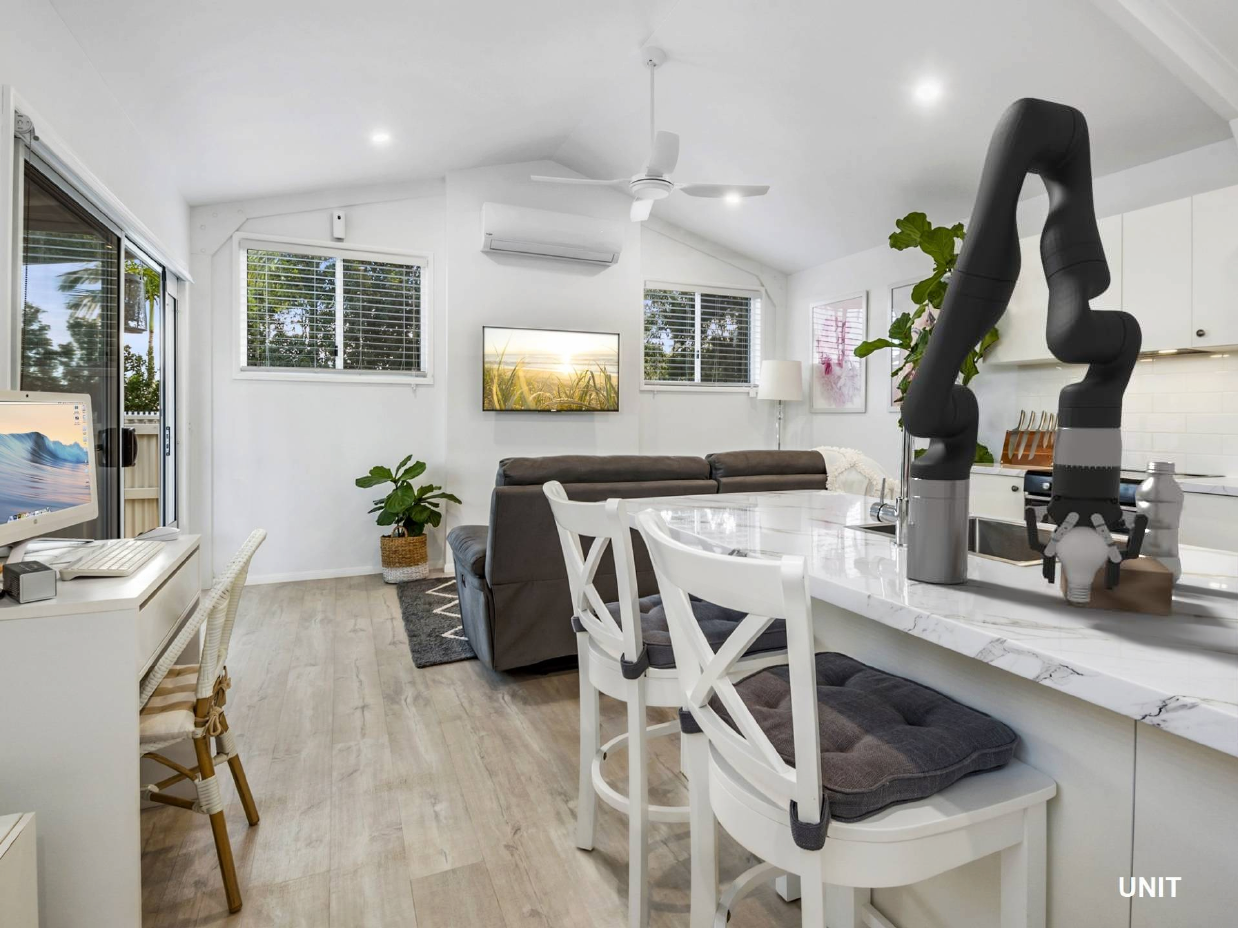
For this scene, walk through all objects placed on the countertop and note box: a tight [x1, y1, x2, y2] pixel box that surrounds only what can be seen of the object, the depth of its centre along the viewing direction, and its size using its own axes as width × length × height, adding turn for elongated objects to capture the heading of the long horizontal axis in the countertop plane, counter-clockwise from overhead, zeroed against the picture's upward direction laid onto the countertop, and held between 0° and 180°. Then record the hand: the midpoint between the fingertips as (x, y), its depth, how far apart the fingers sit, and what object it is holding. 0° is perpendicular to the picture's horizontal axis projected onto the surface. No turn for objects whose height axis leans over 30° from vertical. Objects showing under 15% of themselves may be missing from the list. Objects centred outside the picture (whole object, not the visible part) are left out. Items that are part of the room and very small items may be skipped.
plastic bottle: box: [1134, 461, 1185, 585], centre depth 112 cm, size 6×7×20 cm
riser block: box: [1059, 556, 1174, 617], centre depth 102 cm, size 12×12×6 cm
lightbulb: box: [1054, 527, 1109, 605], centre depth 92 cm, size 6×6×11 cm
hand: (1079, 584), depth 93 cm, fingers closed on lightbulb, 6 cm apart
